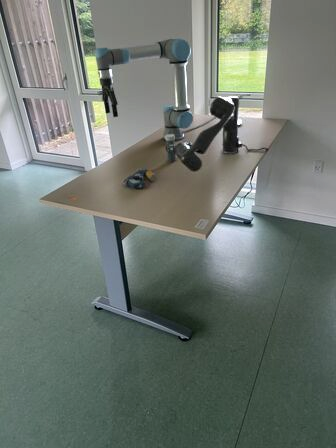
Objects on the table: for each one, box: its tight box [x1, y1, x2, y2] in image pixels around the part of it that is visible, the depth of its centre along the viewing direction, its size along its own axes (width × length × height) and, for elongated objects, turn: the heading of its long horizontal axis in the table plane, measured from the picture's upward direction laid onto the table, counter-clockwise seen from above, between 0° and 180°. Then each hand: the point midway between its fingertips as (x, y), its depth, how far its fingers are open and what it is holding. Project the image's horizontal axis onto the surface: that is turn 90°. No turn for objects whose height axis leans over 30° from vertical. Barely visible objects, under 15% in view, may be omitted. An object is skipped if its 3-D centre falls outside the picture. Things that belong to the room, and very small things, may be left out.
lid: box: [164, 134, 175, 141], centre depth 201 cm, size 6×6×2 cm
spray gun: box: [123, 167, 158, 189], centre depth 183 cm, size 21×4×15 cm
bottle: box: [165, 140, 177, 163], centre depth 205 cm, size 5×5×15 cm
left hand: (111, 114), depth 206 cm, fingers open, 13 cm apart
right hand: (176, 144), depth 184 cm, fingers open, 8 cm apart
